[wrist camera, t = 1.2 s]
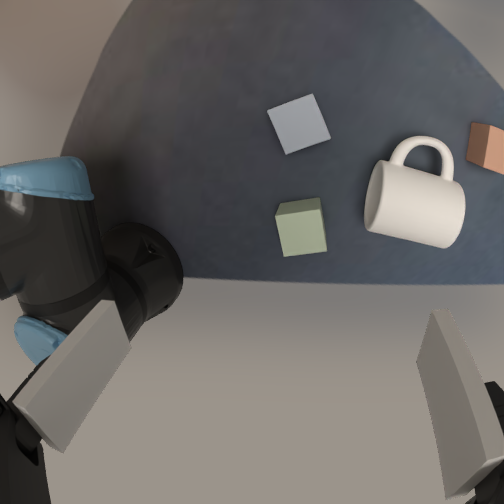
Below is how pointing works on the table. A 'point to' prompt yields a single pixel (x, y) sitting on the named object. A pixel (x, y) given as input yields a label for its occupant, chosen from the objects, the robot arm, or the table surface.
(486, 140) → the terracotta block
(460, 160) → the table surface
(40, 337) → the robot arm
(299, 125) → the slate block
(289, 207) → the sage block
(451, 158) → the mug
